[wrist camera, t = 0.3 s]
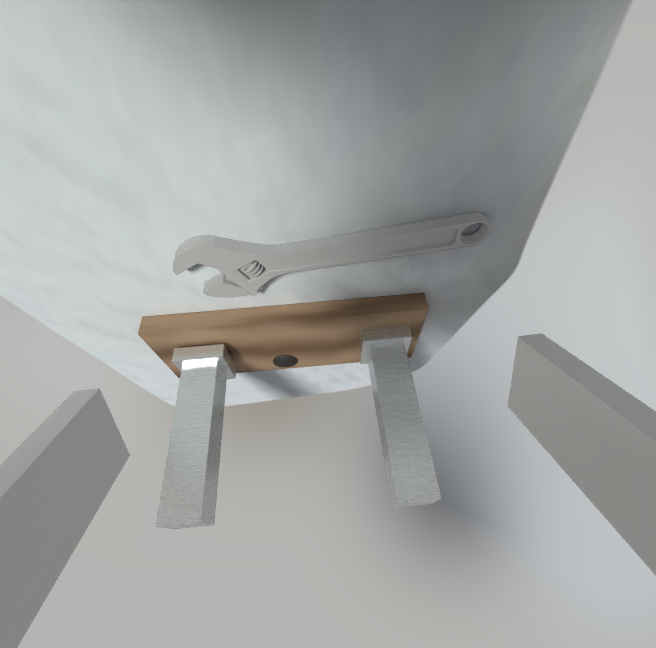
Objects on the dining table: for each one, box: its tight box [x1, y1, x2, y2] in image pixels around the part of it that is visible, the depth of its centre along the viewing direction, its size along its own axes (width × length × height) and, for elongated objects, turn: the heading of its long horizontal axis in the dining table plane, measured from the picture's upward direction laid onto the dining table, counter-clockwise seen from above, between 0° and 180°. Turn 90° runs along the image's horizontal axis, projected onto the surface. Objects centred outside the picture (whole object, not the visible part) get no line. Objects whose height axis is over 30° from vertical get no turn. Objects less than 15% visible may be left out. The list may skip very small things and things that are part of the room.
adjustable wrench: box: [173, 212, 491, 298], centre depth 29 cm, size 25×6×2 cm, turn 93°
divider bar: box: [138, 293, 429, 378], centre depth 38 cm, size 10×28×2 cm, turn 92°
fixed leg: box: [359, 325, 441, 507], centre depth 34 cm, size 7×5×16 cm
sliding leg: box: [156, 344, 236, 529], centre depth 33 cm, size 7×5×16 cm
